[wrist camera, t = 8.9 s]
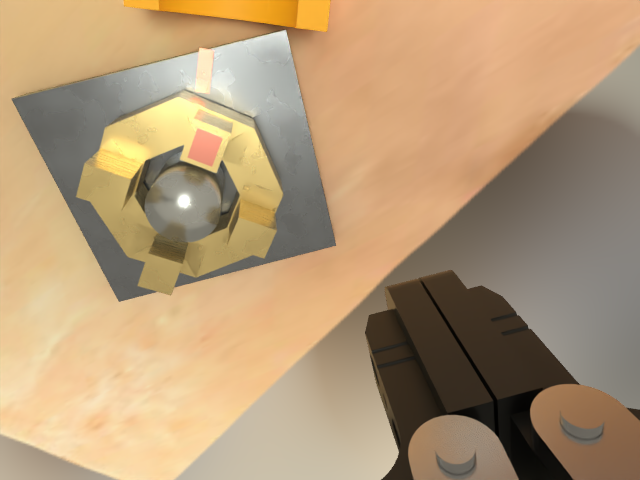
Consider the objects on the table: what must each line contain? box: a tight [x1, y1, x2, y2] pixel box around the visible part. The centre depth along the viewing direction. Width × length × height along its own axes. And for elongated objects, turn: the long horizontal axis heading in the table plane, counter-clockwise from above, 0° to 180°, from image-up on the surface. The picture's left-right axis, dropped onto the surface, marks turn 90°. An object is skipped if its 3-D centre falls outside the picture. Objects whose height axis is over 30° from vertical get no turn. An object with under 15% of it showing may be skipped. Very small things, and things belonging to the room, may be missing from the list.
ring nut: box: [76, 90, 283, 295], centre depth 33 cm, size 13×13×7 cm
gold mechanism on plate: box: [12, 29, 336, 302], centre depth 34 cm, size 20×18×8 cm
